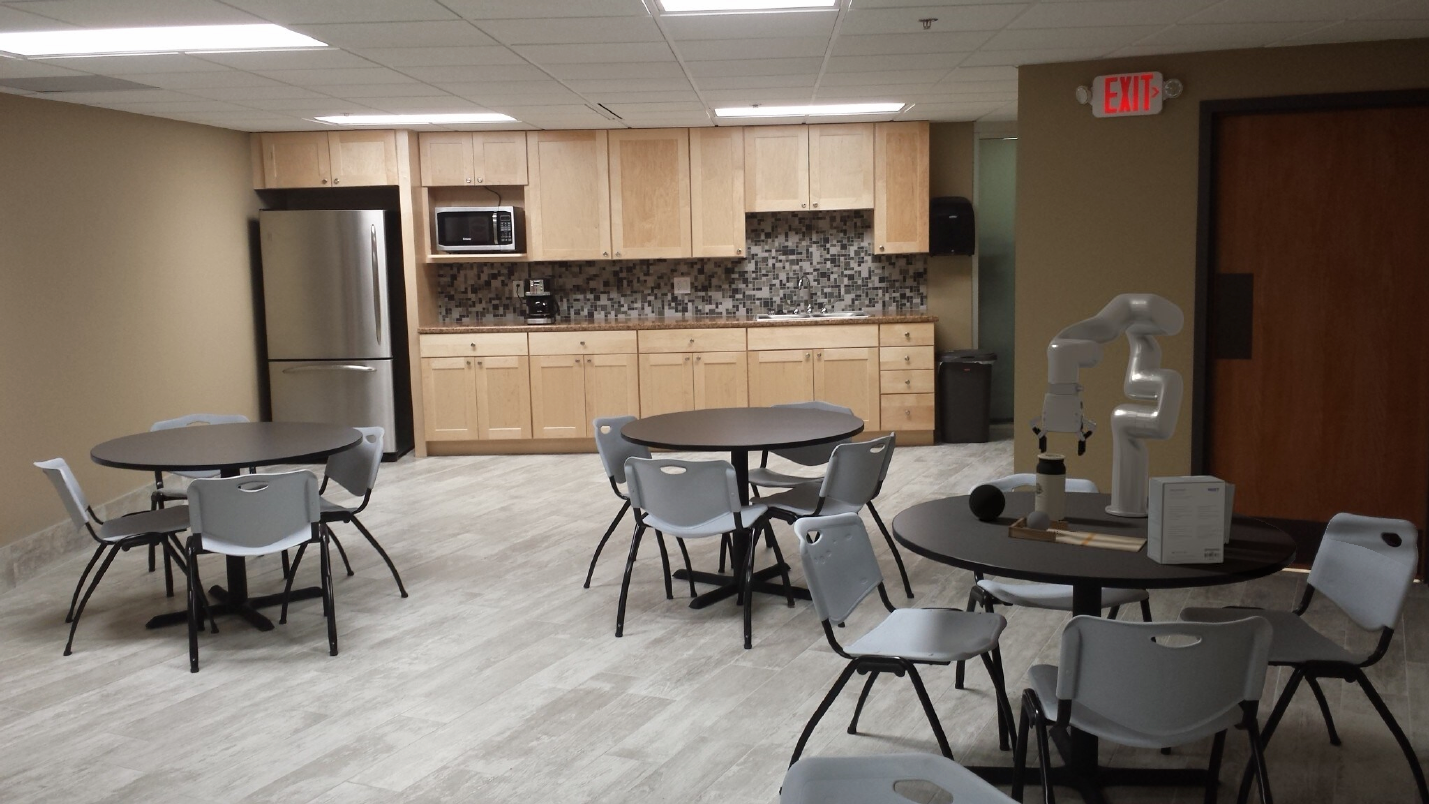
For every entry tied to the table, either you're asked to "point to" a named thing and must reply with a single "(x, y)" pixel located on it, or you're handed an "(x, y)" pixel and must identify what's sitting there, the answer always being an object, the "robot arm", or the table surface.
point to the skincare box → (1228, 510)
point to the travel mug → (1051, 485)
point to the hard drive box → (1186, 519)
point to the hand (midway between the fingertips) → (1062, 453)
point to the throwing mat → (1074, 536)
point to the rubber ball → (1038, 521)
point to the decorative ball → (987, 502)
